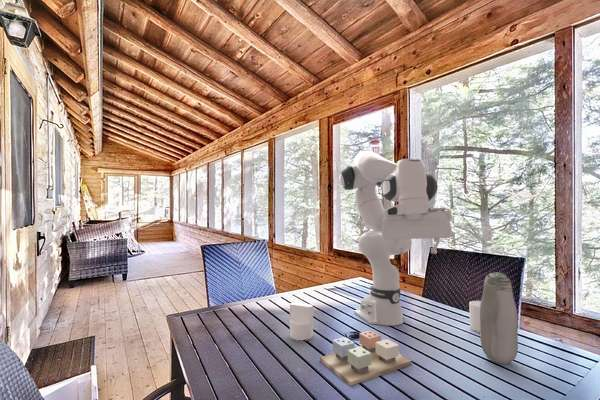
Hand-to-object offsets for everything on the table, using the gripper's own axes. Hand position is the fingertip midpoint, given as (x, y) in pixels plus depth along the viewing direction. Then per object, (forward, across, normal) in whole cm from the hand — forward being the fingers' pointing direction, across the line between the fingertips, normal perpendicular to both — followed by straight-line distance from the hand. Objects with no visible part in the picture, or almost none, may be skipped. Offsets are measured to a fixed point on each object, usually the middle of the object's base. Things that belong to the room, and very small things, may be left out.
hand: (417, 253), depth 95 cm
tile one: (+32, +12, 0) cm, 34 cm away
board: (+34, +18, +2) cm, 39 cm away
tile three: (+31, +24, +5) cm, 40 cm away
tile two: (+32, +17, +9) cm, 37 cm away
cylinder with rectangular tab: (+32, +46, -6) cm, 56 cm away
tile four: (+31, +18, -5) cm, 36 cm away
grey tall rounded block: (+36, -19, -20) cm, 45 cm away
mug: (+34, -15, -43) cm, 57 cm away
